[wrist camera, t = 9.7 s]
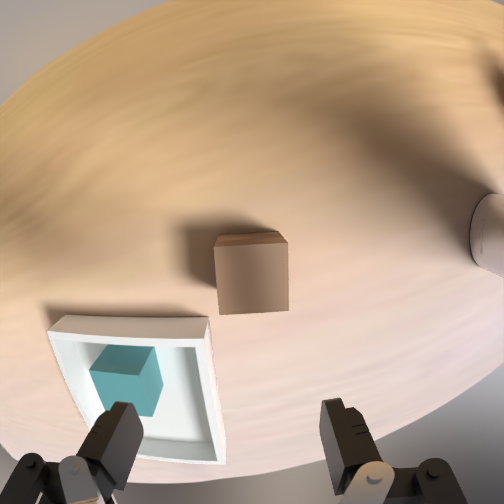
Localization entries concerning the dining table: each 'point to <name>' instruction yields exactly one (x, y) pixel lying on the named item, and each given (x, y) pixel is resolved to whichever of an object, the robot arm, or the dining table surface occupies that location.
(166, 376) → the white tray
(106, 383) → the teal block
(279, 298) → the walnut block
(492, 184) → the dining table surface
